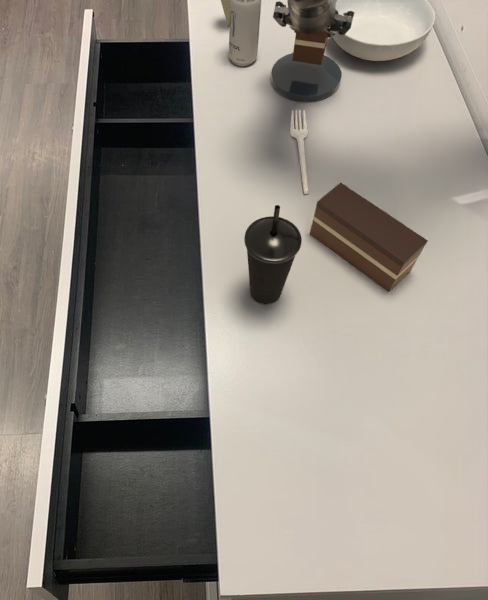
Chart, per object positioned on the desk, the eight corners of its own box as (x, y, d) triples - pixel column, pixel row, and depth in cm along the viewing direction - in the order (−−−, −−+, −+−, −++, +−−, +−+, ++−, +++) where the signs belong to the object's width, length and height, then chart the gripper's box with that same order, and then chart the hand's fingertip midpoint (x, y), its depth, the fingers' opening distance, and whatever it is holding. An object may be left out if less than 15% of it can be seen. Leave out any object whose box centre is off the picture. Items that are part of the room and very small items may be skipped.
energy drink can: (225, 53, 114) (226, -18, 101) (251, 47, 114) (256, -25, 101) (233, 70, 111) (235, -1, 98) (261, 64, 111) (266, -8, 98)
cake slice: (325, 49, 104) (333, 9, 97) (320, 65, 102) (328, 25, 95) (297, 45, 105) (302, 5, 98) (292, 61, 103) (297, 21, 96)
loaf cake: (331, 215, 90) (340, 182, 83) (410, 271, 84) (428, 240, 77) (309, 233, 88) (317, 201, 81) (388, 292, 82) (404, 262, 75)
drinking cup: (249, 265, 86) (257, 178, 68) (295, 278, 84) (315, 192, 67) (234, 303, 82) (238, 221, 65) (282, 318, 80) (299, 238, 63)
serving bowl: (322, 14, 119) (327, -17, 113) (418, 16, 117) (429, -16, 111) (324, 73, 109) (330, 42, 103) (429, 76, 107) (442, 45, 101)
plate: (333, 55, 112) (334, 49, 110) (346, 99, 104) (347, 93, 103) (267, 60, 112) (267, 53, 111) (275, 104, 105) (276, 98, 103)
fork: (296, 195, 93) (297, 188, 91) (288, 117, 103) (289, 109, 101) (315, 195, 92) (316, 187, 91) (305, 117, 103) (307, 109, 101)
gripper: (262, 21, 87) (272, 45, 103) (351, 34, 84) (346, 56, 100) (273, -30, 85) (281, 3, 101) (363, -19, 82) (357, 13, 98)
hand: (314, 29), depth 101 cm, fingers closed on cake slice, 5 cm apart
